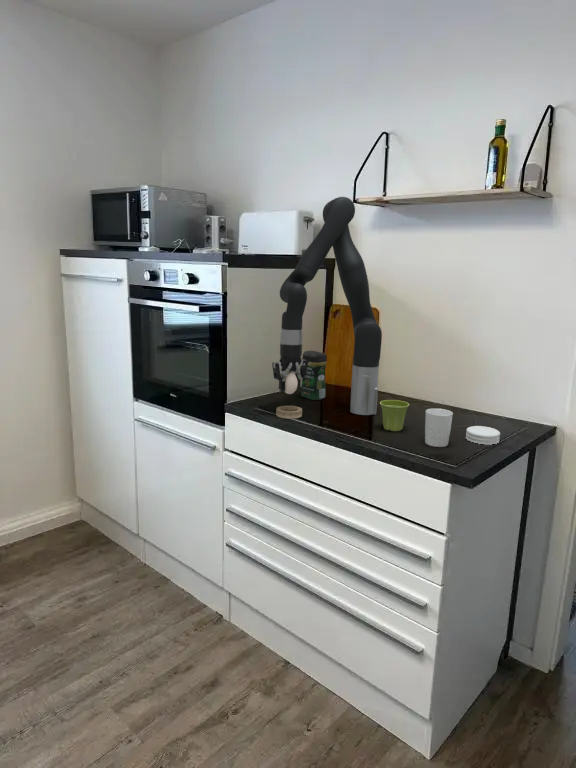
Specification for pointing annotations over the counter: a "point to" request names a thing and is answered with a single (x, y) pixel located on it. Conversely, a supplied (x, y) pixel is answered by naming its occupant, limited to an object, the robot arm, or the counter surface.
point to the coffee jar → (314, 375)
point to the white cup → (437, 427)
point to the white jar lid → (482, 435)
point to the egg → (290, 383)
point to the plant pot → (393, 414)
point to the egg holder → (289, 412)
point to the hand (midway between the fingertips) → (289, 390)
